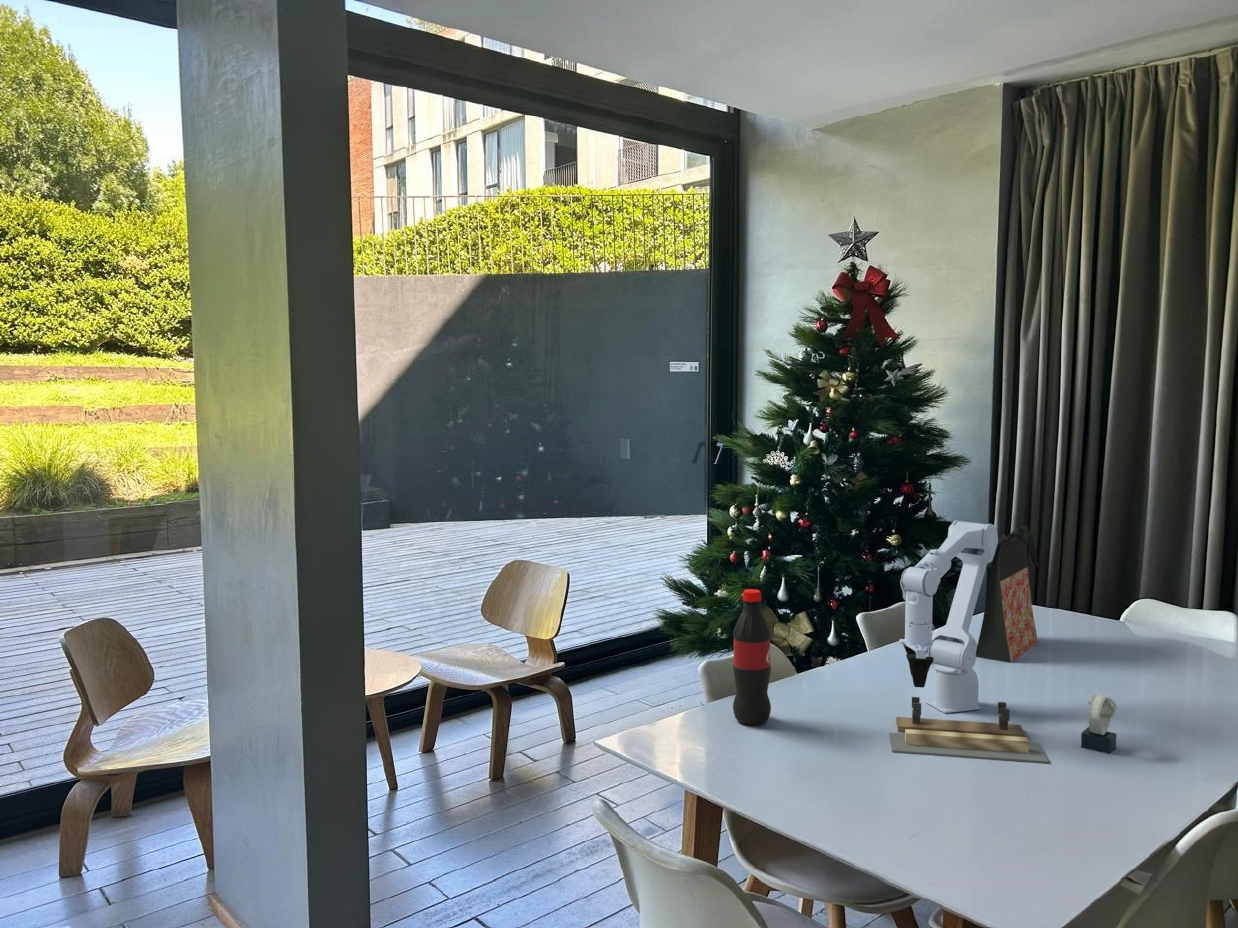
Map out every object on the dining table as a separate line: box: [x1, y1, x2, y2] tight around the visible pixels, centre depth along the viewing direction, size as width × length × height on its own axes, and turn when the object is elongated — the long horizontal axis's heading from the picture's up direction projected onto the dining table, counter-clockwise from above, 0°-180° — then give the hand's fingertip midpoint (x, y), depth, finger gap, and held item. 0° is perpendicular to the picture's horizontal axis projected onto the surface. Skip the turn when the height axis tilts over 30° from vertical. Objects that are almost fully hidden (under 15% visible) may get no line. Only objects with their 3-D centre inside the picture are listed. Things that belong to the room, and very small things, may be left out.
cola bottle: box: [732, 588, 772, 726], centre depth 212 cm, size 8×8×30 cm
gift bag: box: [976, 525, 1040, 664], centre depth 267 cm, size 29×14×35 cm, turn 141°
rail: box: [904, 729, 1030, 753], centre depth 196 cm, size 24×2×2 cm, turn 77°
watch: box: [1080, 694, 1118, 755], centre depth 195 cm, size 6×8×11 cm
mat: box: [888, 732, 1050, 764], centre depth 196 cm, size 30×10×1 cm, turn 77°
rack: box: [895, 696, 1027, 737], centre depth 205 cm, size 26×6×6 cm, turn 77°
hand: (917, 681), depth 210 cm, fingers open, 7 cm apart
